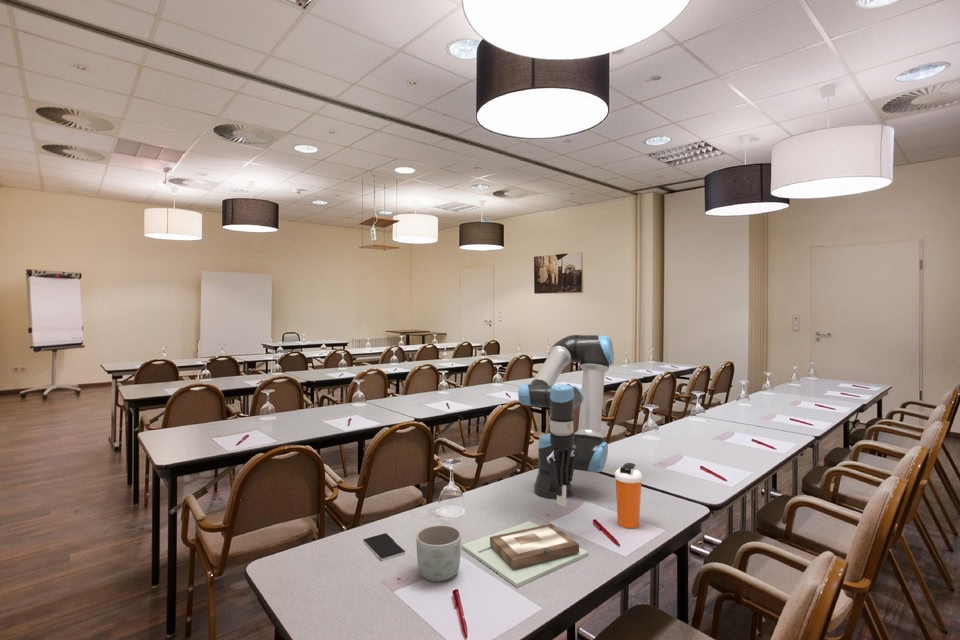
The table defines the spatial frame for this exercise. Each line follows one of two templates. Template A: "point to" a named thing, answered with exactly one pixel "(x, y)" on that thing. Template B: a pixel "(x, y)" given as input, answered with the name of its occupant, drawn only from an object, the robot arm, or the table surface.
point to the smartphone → (384, 546)
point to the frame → (533, 545)
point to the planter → (438, 552)
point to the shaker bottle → (628, 495)
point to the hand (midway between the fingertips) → (561, 504)
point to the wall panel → (522, 574)
